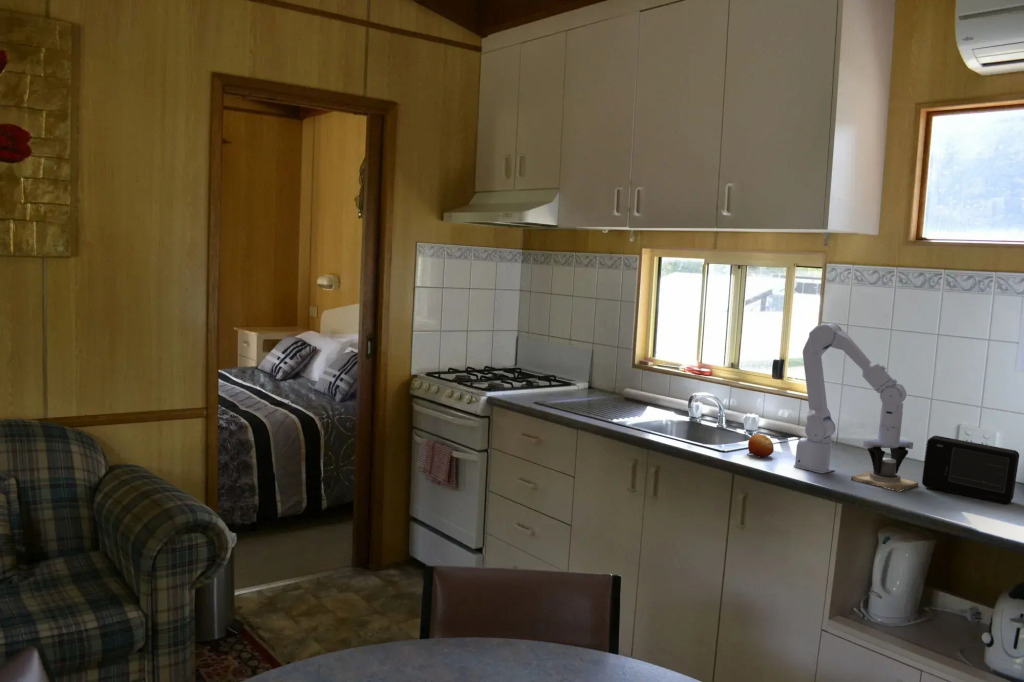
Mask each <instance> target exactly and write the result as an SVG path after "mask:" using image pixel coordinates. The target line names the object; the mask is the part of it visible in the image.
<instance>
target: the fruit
mask: <svg viewBox="0 0 1024 682" xmlns="http://www.w3.org/2000/svg"><path fill="white" fill-rule="evenodd" d="M747 447H748V453H747V454H746V455H747V456H748V455H752V456H754V457H756V458H760V459H764V458H766V457H769V456H772V454H773V453H774V443H773V441H772V440H771V438H769V437H767V435H765V434H761V433H756V434H754V435H751V437H750V438H749V439H748V442H747Z"/></svg>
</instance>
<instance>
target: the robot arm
mask: <svg viewBox="0 0 1024 682" xmlns="http://www.w3.org/2000/svg"><path fill="white" fill-rule="evenodd" d="M829 348H833V349H836V350H841V351H843V352H844V353H845V354H846V355H847V357H849V358H850V359H851V360H852V362H854V363H855V364H856V365H857V366H858V367H859V368H860V369H861V370H862V375H861V376H862V378H863V379H864V380H865V381H866V382H867V383H868V384H869V385H870V386H871V387H872V388H873V390H874V391H876V393H877V394H879V399H880V401H881V408H880V416H879V426H878V435H877V436H878V437H877V438H876V439H875V438H874V439H867V440H866V439H864V440H863V448H866V450H867V451H868V453H869V456H870V459H871V463H872V468H873V469H872V471H874V472H876V473H880V471H881V465H882V460H883V458H885V455H886V451H884V450H883V449H890V458H891V459H895V460H896V462H897V464H896V473H895V474H897V475H898V472H899V470H900V468H901V467H900V466H901V464H902V463H903V461H904V459H905V458H906V457H907V455H908V454H909V450H913V447H914V442H913V441H910V440H901V432H902V422H903V409H904V403H903V402H904V401H905V400H906V398H907V391H906V388H905V387H904V386H903V384H900V383H898V380H897V379H896V378H895V379H894V378H893V377H892V376H891V375H890V374H889V373H888V372H887V371H886V369H887V368H886V366H884V365H881V364H879V363H878V362H877V363H873V362H872V361H871V360H870V359H869V358H868V357H867V354H865V353H864V352H863V350H862V349H861V348H860V347H859V346H858V344H856V343H855V341H854V340H853V339H852V338H851V336H850V335H849V334H848V333H847V332H846V331H844V330H843V329H842V328H841V326H840V325H838V324H836V323H828V324H827V323H825V324H819V325H816V326H815V327H814V328H813V329H812V330H810V332H809V333H808V338H807V341H806V342H805V345H804V346H803V349H802V358H803V359H802V360H803V367H804V368H803V369H804V376H805V384H806V393H807V402H808V403H807V404H808V413H807V416H806V425H805V428H804V431H805V434H806V437H801V438H799V440H798V442H797V444H796V451H795V463H794V464H793V467H795V468H798V469H803V470H807V471H810V472H814V473H817V474H825V473H830V472H833V471H836V469H835V468H834V467H830V464H831V455H832V454H831V453H832V445H833V444H832V443H833V439H832V436H833V435H834V434H835V431H836V424H835V422H834V420H833V419H832V416H831V415H832V414H831V411H830V409H829V408H828V404H827V403H828V402H827V394H826V386H825V377H824V368H823V361H822V357H823V355H824V354H825V353H826V351H827V350H829Z"/></svg>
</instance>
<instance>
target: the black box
mask: <svg viewBox="0 0 1024 682" xmlns="http://www.w3.org/2000/svg"><path fill="white" fill-rule="evenodd" d="M1019 461H1020V453H1019V452H1018V451H1017V450H1015V449H1009V448H1004V447H998V446H994V445H989V444H983V443H977V442H972V441H966V440H962V439H956V438H951V437H945V436H941V435H940V436H939V435H932V436H931V437H930V438H928V439H927V441H926V448H925V456H924V464H923V471H922V477H921V478H922V479H921V483H922V485H923V486H924V487H925V488H930V489H933V490H938V491H943V492H948V493H952V494H955V495H961V496H965V497H969V498H974V499H979V500H983V501H988V502H991V503H997V504H1001V505H1009V504H1010V503H1011V502H1012V500H1013V499H1014V497H1015V496H1014V494H1015V490H1016V489H1015V488H1016V487H1015V486H1016V480H1017V474H1018V468H1019Z"/></svg>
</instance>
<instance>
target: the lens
mask: <svg viewBox="0 0 1024 682" xmlns="http://www.w3.org/2000/svg"><path fill="white" fill-rule="evenodd" d="M896 464H897V462H896V460H895V459H891V457H883V460H882V465H881V471H880V473H877V476H882V477H888V478H895V473H896Z"/></svg>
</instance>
